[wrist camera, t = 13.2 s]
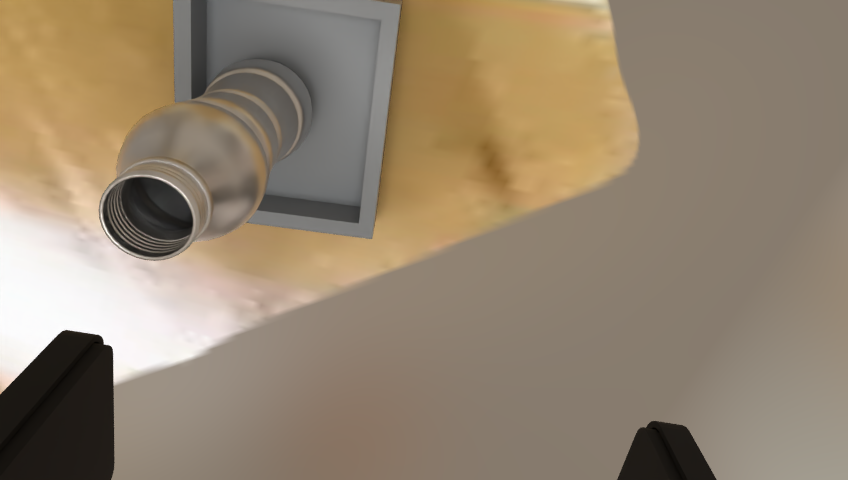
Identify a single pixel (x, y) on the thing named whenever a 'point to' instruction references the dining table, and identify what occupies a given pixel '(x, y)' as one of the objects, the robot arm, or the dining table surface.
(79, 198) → the dining table surface
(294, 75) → the plastic bottle
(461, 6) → the dining table surface
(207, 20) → the grey bin
